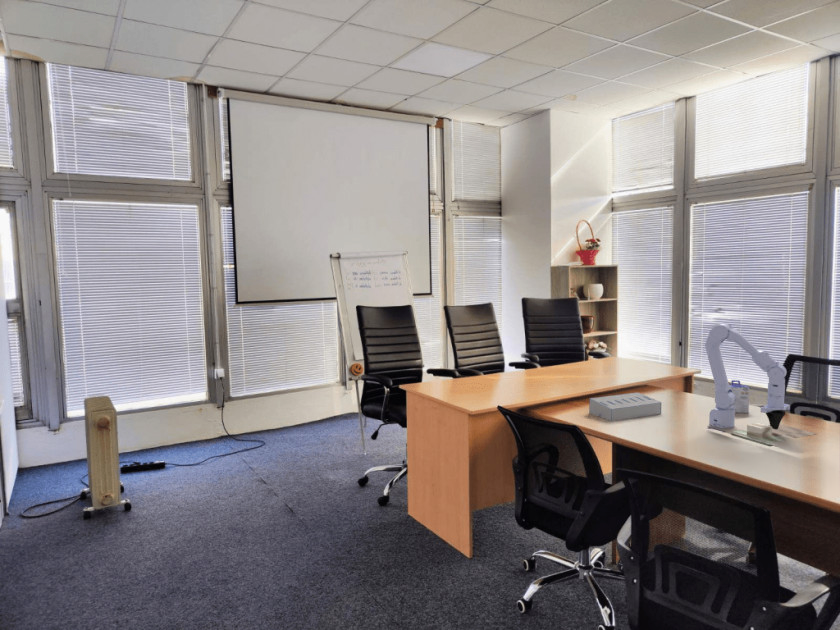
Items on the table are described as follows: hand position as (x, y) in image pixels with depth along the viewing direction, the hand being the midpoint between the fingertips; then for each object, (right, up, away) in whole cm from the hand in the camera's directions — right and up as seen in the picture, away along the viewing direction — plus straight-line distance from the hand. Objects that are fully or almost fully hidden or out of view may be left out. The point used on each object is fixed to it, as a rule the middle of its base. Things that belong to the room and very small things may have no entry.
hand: (774, 428), depth 223 cm
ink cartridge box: (+7, 0, +40) cm, 41 cm away
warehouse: (-46, -1, +37) cm, 59 cm away
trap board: (0, -3, 0) cm, 3 cm away
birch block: (-8, -2, -4) cm, 9 cm away
